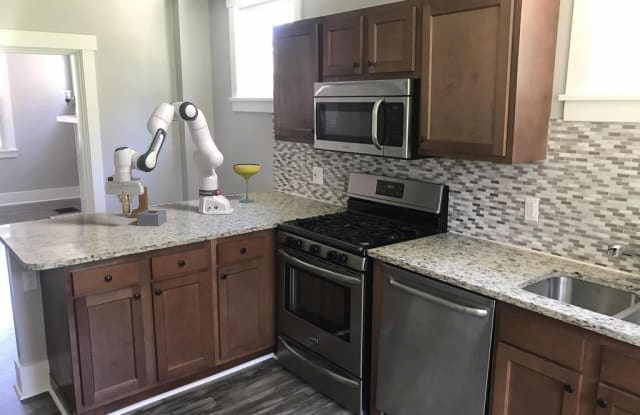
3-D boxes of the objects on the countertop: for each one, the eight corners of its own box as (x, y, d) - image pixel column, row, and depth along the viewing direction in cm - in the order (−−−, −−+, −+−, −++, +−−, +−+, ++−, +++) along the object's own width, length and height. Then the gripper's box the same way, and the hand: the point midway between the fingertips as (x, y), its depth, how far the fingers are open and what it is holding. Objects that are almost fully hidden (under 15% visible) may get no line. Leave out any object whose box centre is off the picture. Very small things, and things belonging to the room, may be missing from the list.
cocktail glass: (235, 199, 366) (234, 163, 361) (261, 199, 368) (260, 163, 363) (232, 204, 349) (231, 166, 344) (259, 204, 350) (259, 167, 345)
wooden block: (131, 218, 304) (129, 187, 300) (133, 216, 308) (131, 186, 305) (147, 218, 305) (145, 187, 302) (148, 216, 310) (147, 186, 306)
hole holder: (166, 221, 297) (166, 210, 296) (158, 226, 286) (157, 214, 284) (146, 220, 298) (145, 209, 297) (137, 225, 287) (136, 214, 285)
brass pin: (131, 212, 286) (130, 190, 283) (128, 213, 282) (126, 191, 279) (124, 212, 286) (123, 190, 283) (121, 213, 282) (119, 191, 280)
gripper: (145, 176, 282) (146, 201, 285) (108, 176, 284) (110, 201, 287) (140, 178, 276) (141, 204, 279) (102, 178, 278) (105, 203, 280)
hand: (125, 202), depth 283 cm, fingers closed on brass pin, 4 cm apart
